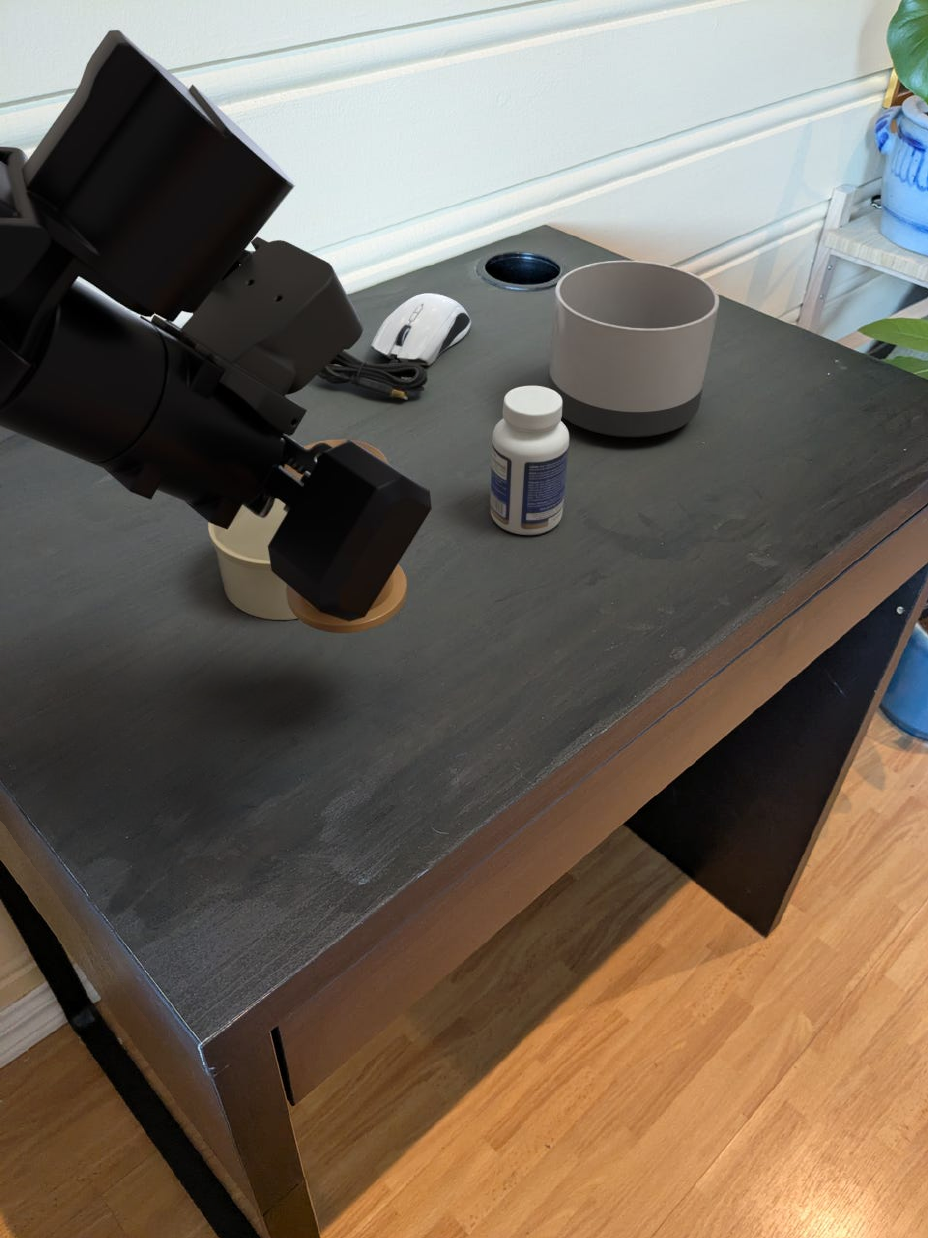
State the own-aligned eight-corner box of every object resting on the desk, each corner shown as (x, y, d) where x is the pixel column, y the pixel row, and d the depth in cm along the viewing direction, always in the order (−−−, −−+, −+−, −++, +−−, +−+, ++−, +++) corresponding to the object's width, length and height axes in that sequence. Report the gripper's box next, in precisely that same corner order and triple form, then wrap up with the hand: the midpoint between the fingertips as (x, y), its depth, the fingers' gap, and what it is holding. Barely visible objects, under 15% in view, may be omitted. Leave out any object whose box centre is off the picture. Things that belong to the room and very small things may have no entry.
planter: (518, 419, 82) (524, 301, 74) (591, 360, 89) (603, 248, 82) (655, 468, 76) (676, 346, 69) (720, 400, 84) (745, 284, 77)
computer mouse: (495, 324, 95) (496, 284, 92) (413, 411, 82) (412, 368, 80) (404, 305, 98) (402, 266, 95) (312, 386, 85) (308, 345, 83)
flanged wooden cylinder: (285, 637, 49) (265, 509, 43) (288, 558, 54) (271, 434, 48) (410, 629, 49) (406, 502, 44) (403, 552, 54) (398, 428, 49)
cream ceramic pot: (229, 634, 62) (216, 575, 58) (213, 547, 68) (200, 489, 65) (371, 607, 64) (367, 548, 61) (343, 525, 71) (337, 467, 67)
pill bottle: (570, 502, 73) (581, 387, 66) (551, 544, 69) (561, 426, 62) (502, 488, 74) (506, 374, 67) (480, 528, 70) (483, 411, 64)
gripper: (382, 279, 30) (584, 452, 43) (100, 138, 40) (334, 314, 53) (205, 579, 31) (453, 659, 44) (-25, 371, 41) (233, 486, 54)
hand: (363, 513), depth 49 cm, fingers closed on flanged wooden cylinder, 5 cm apart
